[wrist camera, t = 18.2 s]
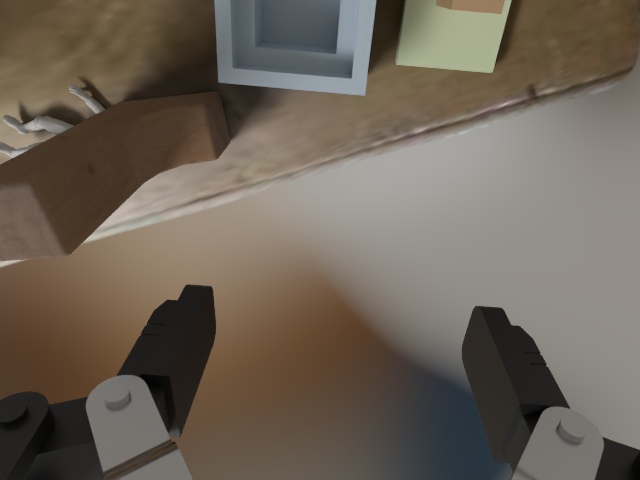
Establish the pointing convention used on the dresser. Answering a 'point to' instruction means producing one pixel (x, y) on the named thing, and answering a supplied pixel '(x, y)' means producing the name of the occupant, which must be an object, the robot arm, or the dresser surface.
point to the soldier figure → (45, 123)
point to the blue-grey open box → (295, 43)
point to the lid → (452, 33)
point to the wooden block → (101, 169)
